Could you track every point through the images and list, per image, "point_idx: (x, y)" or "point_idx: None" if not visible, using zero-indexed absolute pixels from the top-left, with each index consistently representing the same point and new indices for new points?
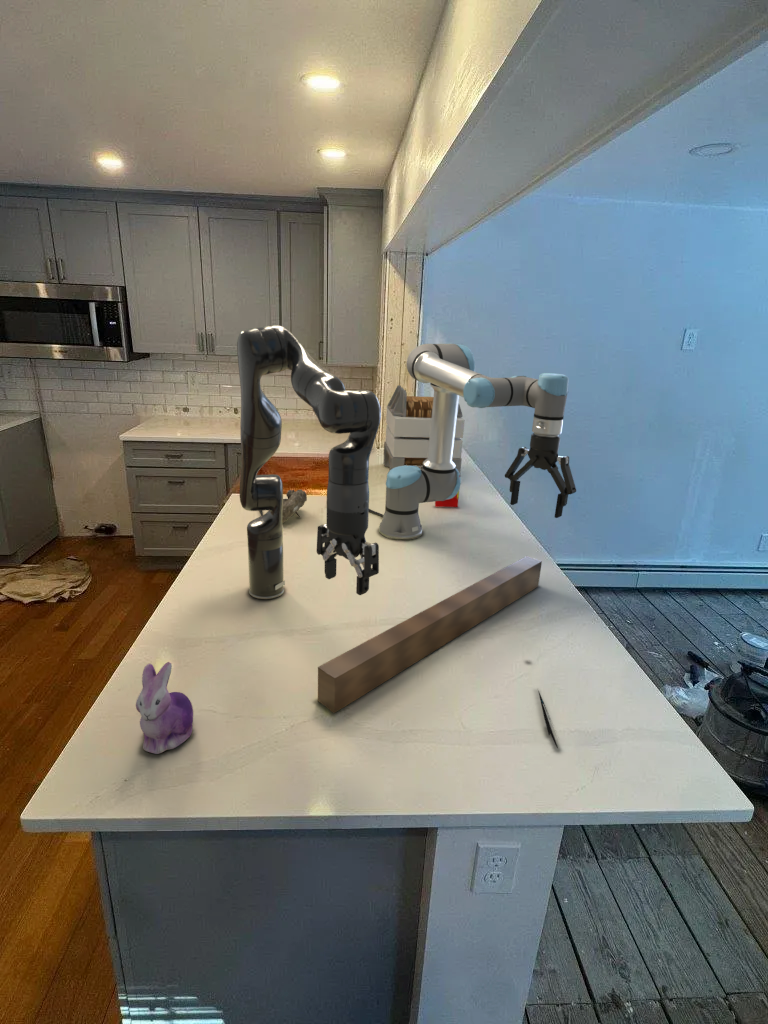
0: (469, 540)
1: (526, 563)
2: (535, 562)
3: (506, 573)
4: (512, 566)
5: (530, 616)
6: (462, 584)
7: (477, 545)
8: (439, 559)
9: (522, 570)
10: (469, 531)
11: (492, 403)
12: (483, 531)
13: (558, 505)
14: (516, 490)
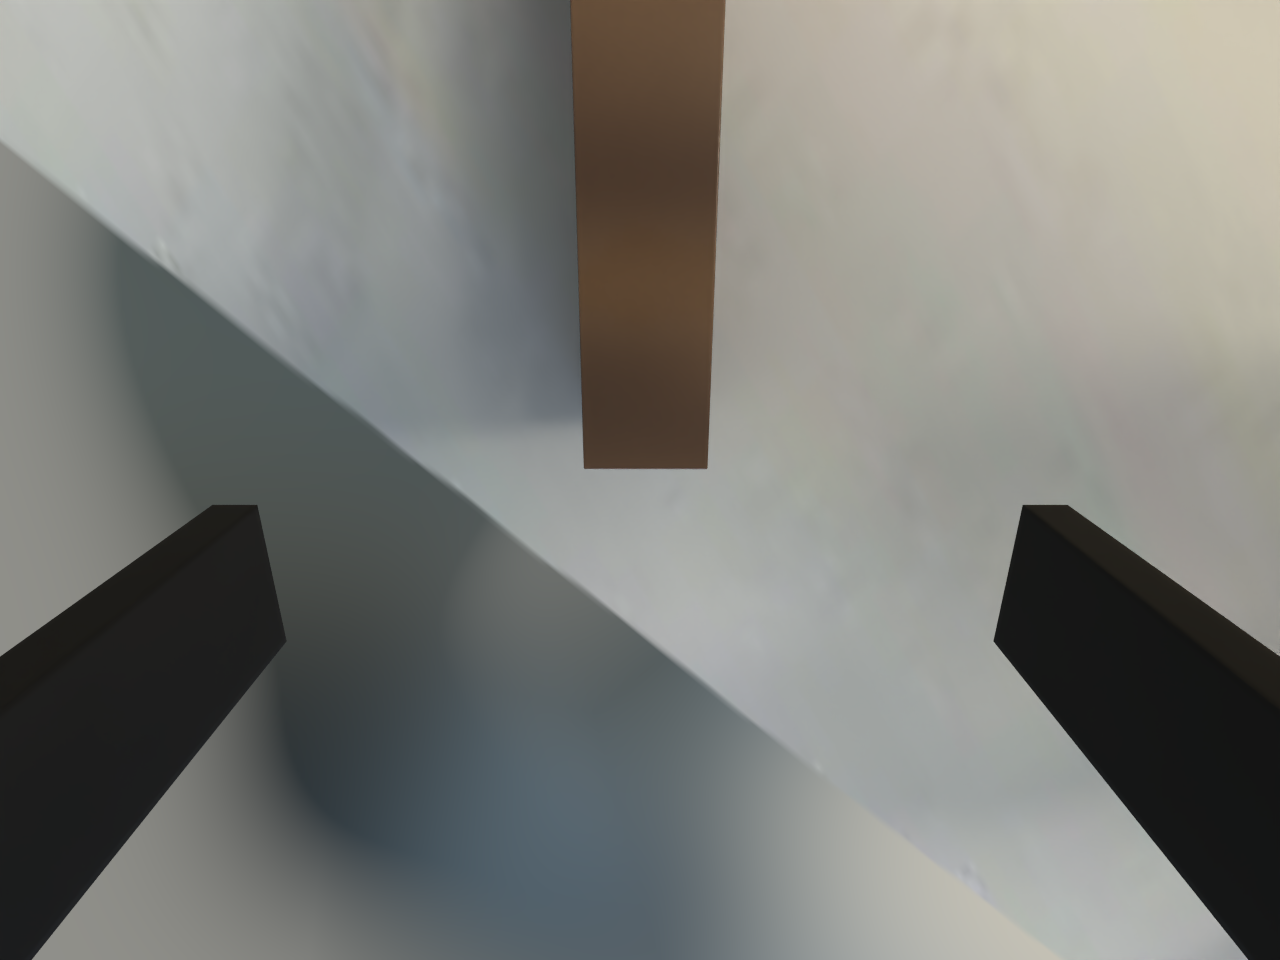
0: None
1: (639, 349)
2: (603, 415)
3: (650, 44)
4: (685, 213)
5: (415, 22)
6: (956, 64)
7: None
8: (1249, 275)
9: (592, 208)
10: None
11: None
12: None
13: (63, 622)
14: (1172, 731)
